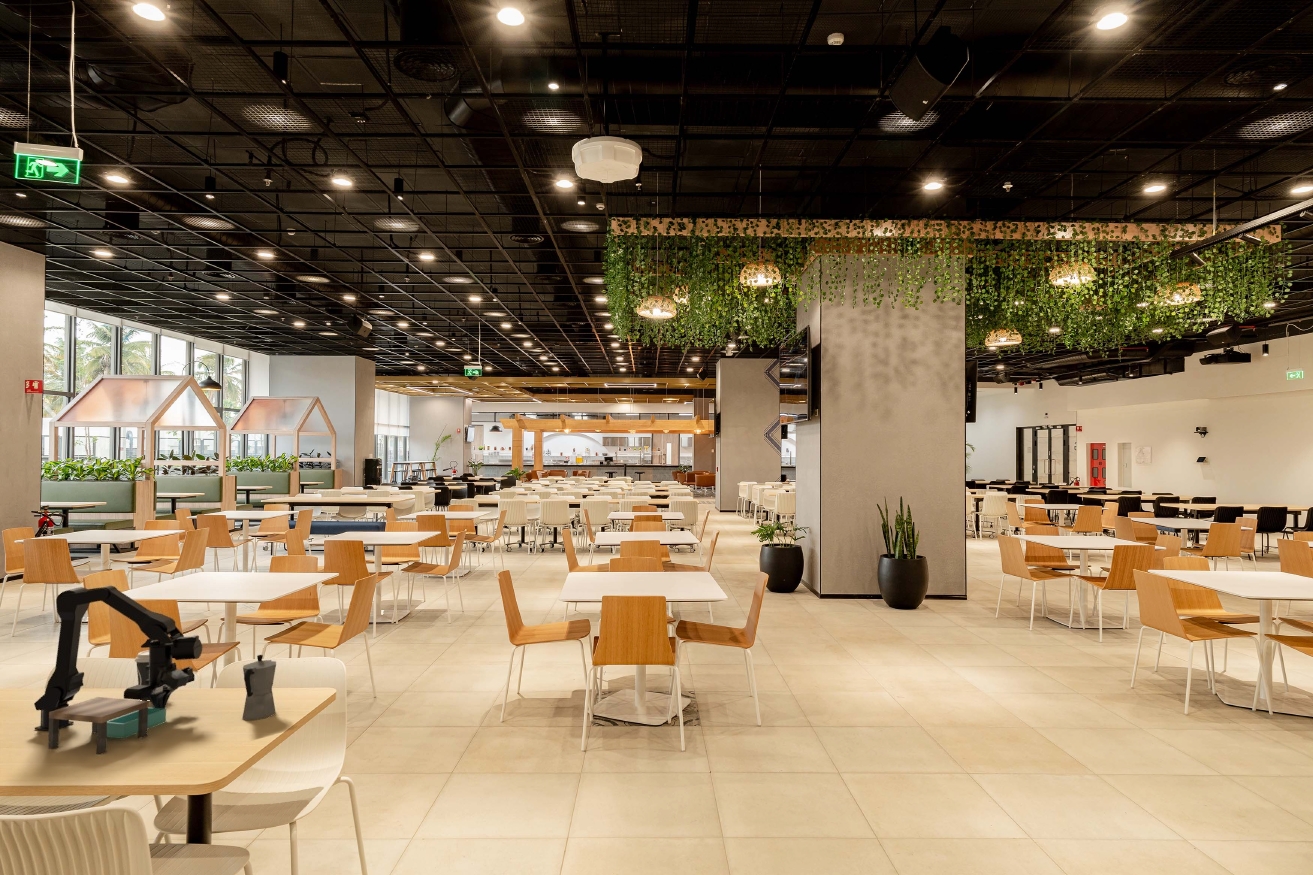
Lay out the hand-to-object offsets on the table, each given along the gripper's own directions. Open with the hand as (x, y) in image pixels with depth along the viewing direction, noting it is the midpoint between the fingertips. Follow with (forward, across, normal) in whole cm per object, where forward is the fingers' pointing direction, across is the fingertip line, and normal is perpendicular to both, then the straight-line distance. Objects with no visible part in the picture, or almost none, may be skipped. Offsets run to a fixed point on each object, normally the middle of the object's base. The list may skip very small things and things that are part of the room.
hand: (160, 713), depth 211 cm
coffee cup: (+2, +16, +21) cm, 26 cm away
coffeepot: (+2, +8, -27) cm, 28 cm away
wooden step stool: (+1, -18, 0) cm, 18 cm away
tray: (+2, -8, 0) cm, 8 cm away
